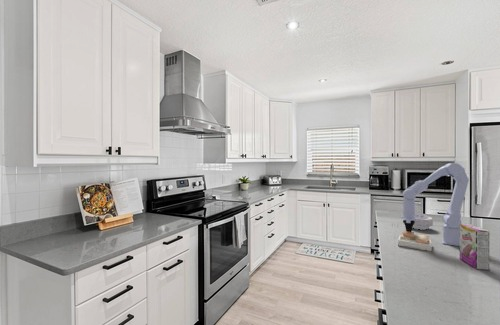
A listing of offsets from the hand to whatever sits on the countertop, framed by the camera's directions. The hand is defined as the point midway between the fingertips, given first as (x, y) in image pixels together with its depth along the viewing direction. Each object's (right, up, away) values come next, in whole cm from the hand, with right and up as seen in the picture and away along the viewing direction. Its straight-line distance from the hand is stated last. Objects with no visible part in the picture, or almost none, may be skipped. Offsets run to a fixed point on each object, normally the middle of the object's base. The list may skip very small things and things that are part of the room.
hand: (408, 232), depth 142 cm
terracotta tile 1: (-1, -2, -12) cm, 13 cm away
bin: (-5, -3, -13) cm, 14 cm away
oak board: (+1, -3, -3) cm, 5 cm away
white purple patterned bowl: (+21, -3, +21) cm, 30 cm away
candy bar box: (+4, -3, -37) cm, 37 cm away
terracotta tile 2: (-2, -1, -3) cm, 4 cm away
